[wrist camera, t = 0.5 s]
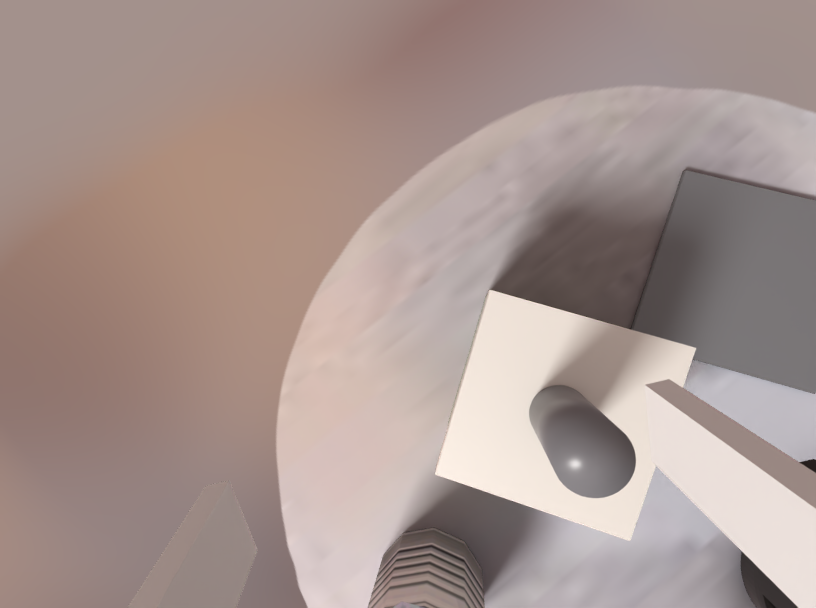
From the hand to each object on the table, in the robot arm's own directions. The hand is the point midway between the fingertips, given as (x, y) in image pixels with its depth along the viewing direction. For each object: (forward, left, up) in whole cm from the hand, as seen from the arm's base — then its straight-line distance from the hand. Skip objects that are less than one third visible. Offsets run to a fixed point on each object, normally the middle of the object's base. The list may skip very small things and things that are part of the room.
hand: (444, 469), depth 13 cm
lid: (-8, +1, -21) cm, 23 cm away
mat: (-24, -13, -30) cm, 41 cm away
